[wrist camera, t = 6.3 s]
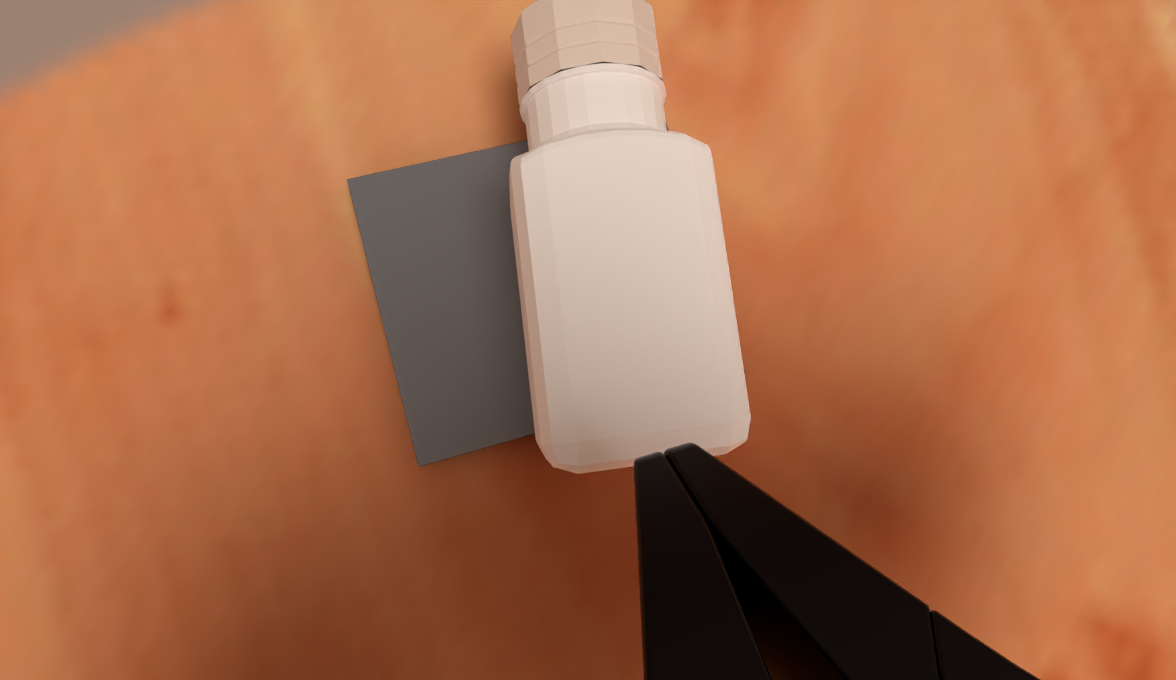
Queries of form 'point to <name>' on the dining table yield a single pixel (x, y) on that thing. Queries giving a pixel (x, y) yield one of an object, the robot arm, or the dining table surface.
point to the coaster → (450, 298)
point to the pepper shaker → (617, 248)
